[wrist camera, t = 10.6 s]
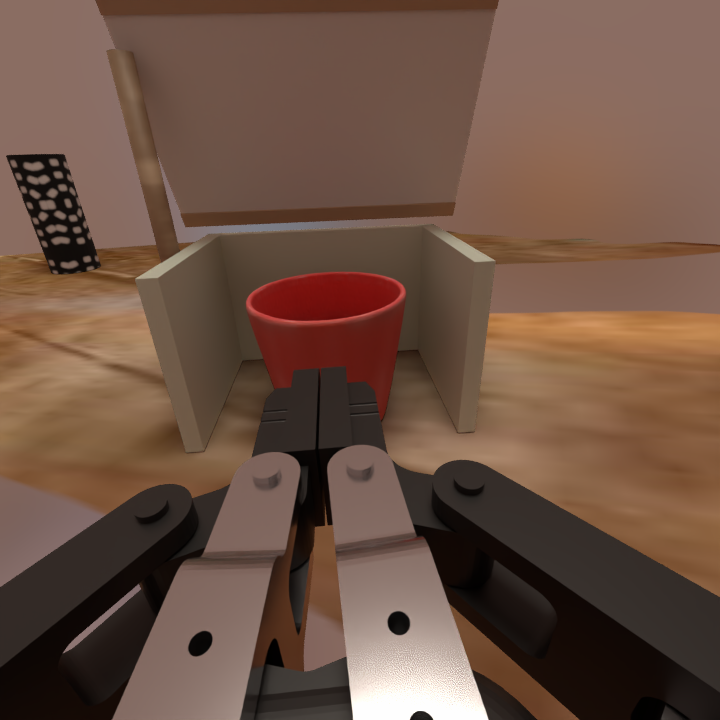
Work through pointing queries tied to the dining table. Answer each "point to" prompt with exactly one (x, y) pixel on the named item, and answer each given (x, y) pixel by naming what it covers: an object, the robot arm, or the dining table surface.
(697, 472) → the dining table surface
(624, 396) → the dining table surface
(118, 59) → the prop stick
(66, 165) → the white-spotted black cylinder
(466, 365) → the cold frame
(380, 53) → the lid
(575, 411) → the dining table surface
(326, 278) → the flower pot
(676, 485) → the dining table surface
